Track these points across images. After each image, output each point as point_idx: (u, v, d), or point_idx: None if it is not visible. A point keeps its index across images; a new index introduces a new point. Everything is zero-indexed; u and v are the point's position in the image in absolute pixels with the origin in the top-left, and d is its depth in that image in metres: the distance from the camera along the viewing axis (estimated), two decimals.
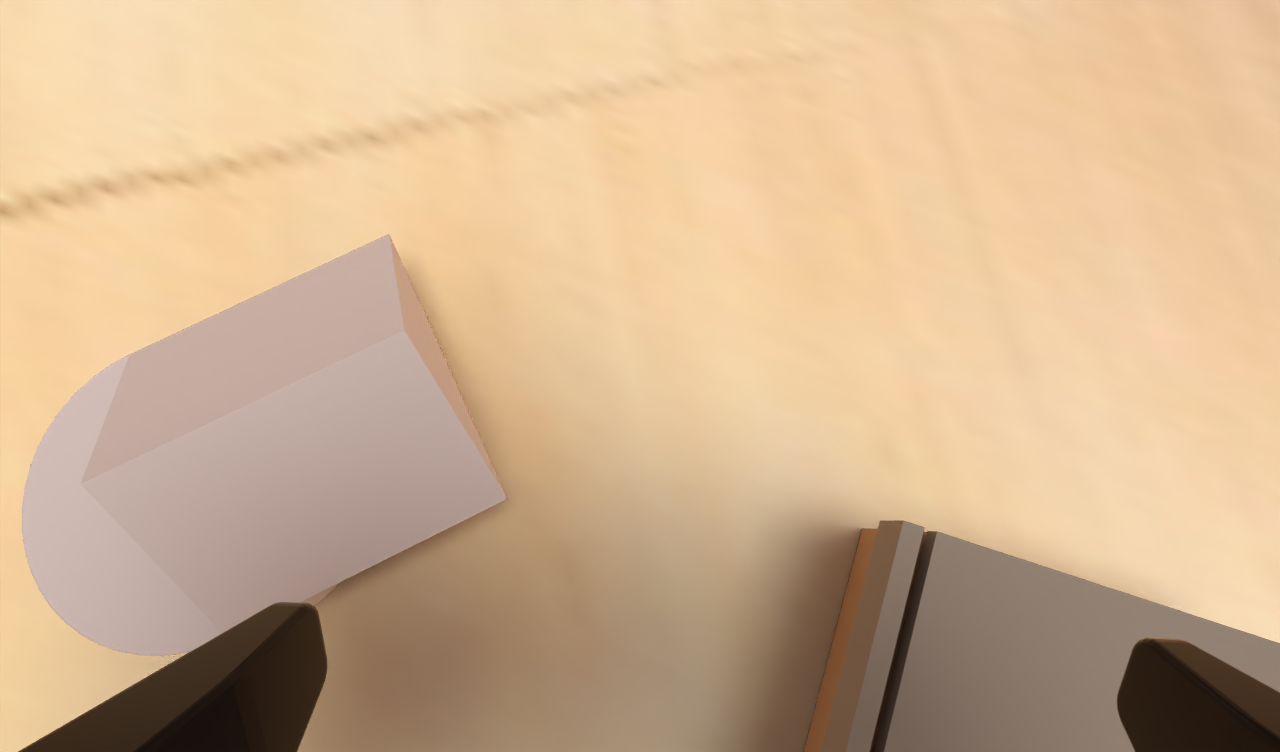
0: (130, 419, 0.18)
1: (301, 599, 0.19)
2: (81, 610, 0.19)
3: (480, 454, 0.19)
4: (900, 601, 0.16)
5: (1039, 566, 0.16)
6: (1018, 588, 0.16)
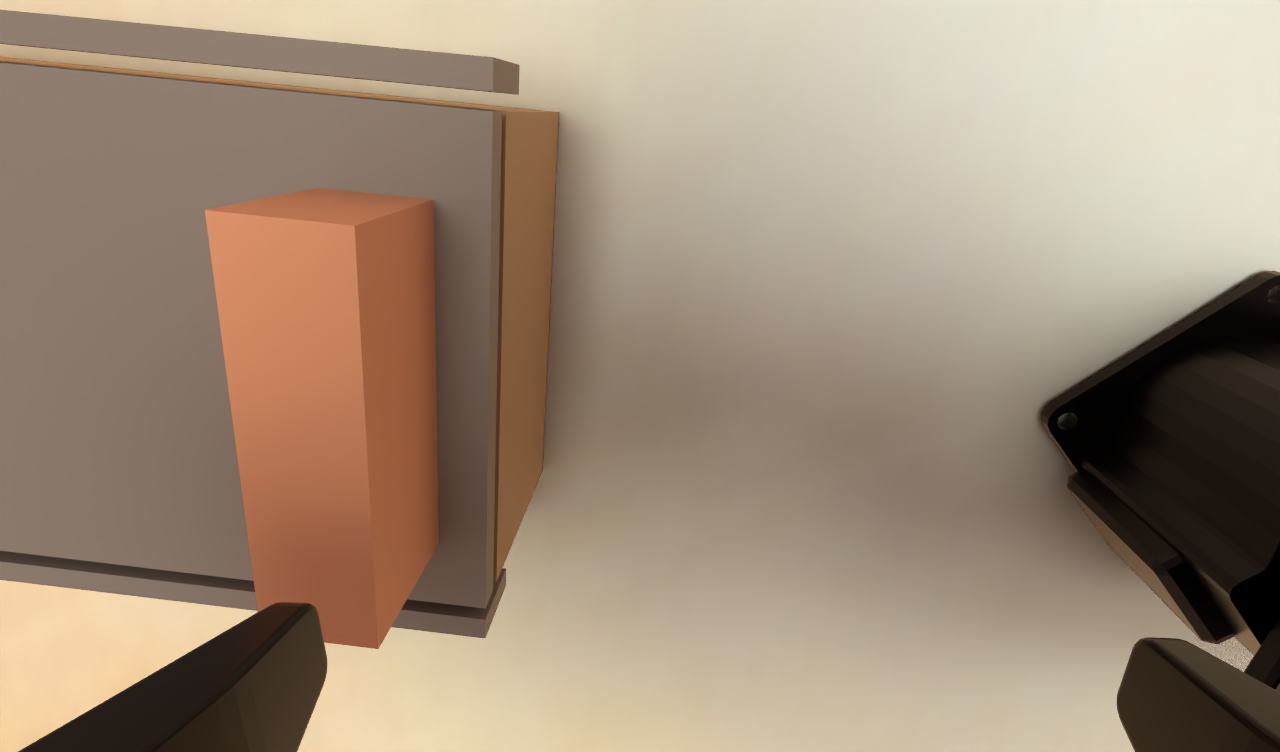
0: None
1: None
2: None
3: None
4: None
5: None
6: None
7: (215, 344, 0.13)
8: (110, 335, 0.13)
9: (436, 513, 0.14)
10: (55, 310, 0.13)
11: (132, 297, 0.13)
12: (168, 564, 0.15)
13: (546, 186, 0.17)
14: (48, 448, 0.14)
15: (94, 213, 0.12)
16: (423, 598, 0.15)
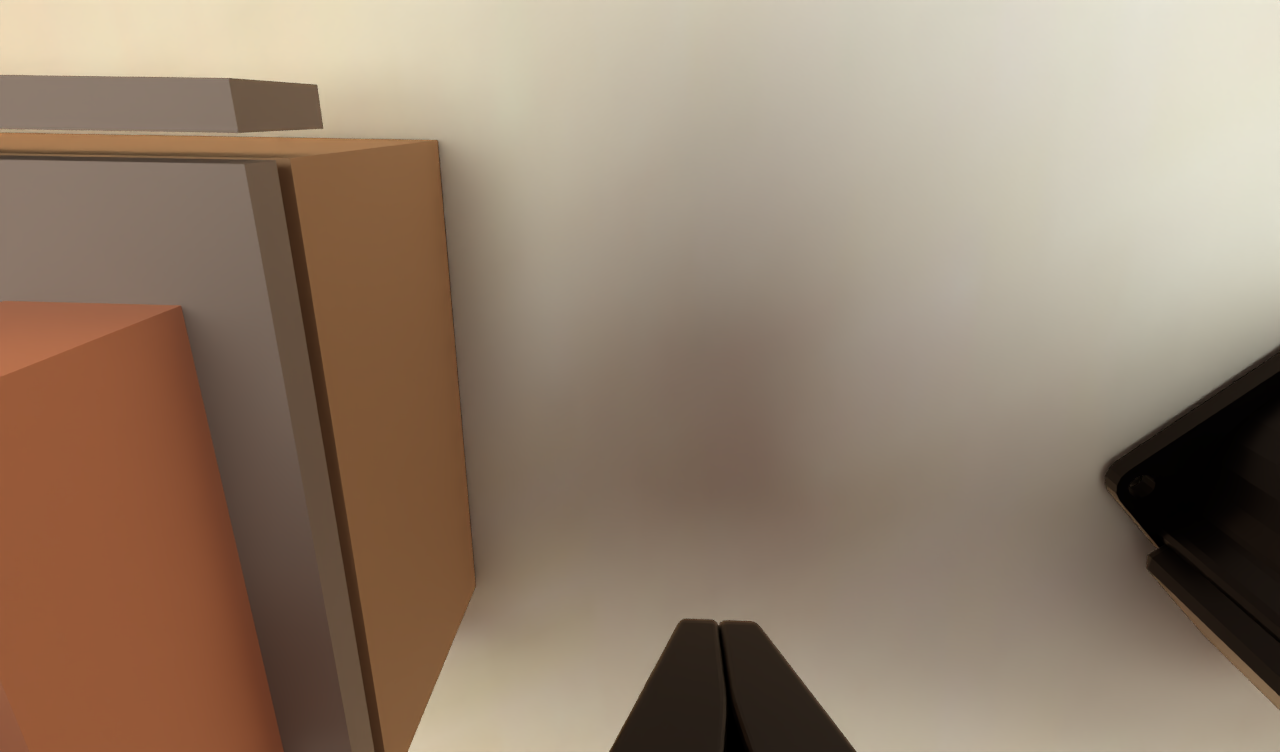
0: None
1: None
2: None
3: None
4: None
5: None
6: None
7: None
8: None
9: (274, 736, 0.10)
10: None
11: None
12: None
13: (423, 241, 0.12)
14: None
15: None
16: None
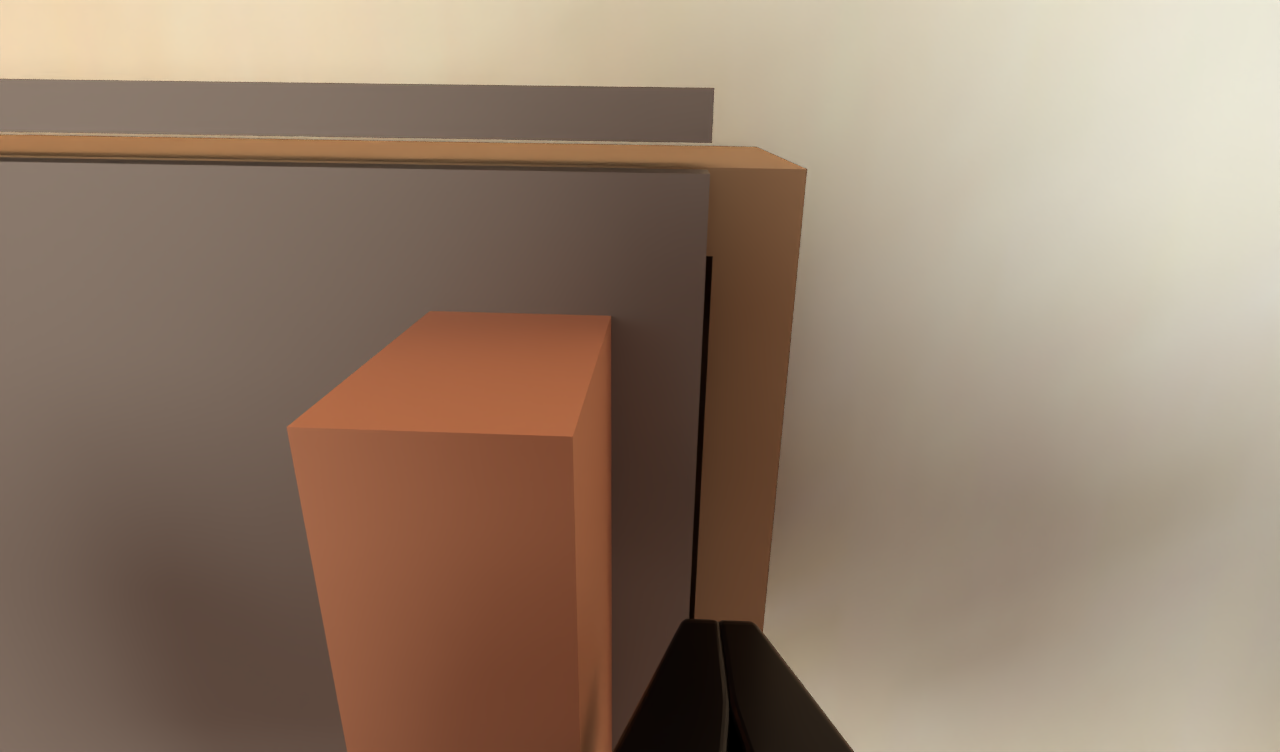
0: None
1: None
2: None
3: None
4: None
5: None
6: None
7: (280, 542, 0.09)
8: (125, 539, 0.09)
9: (611, 746, 0.10)
10: (42, 510, 0.09)
11: (154, 486, 0.09)
12: None
13: None
14: (51, 690, 0.10)
15: (87, 372, 0.08)
16: None
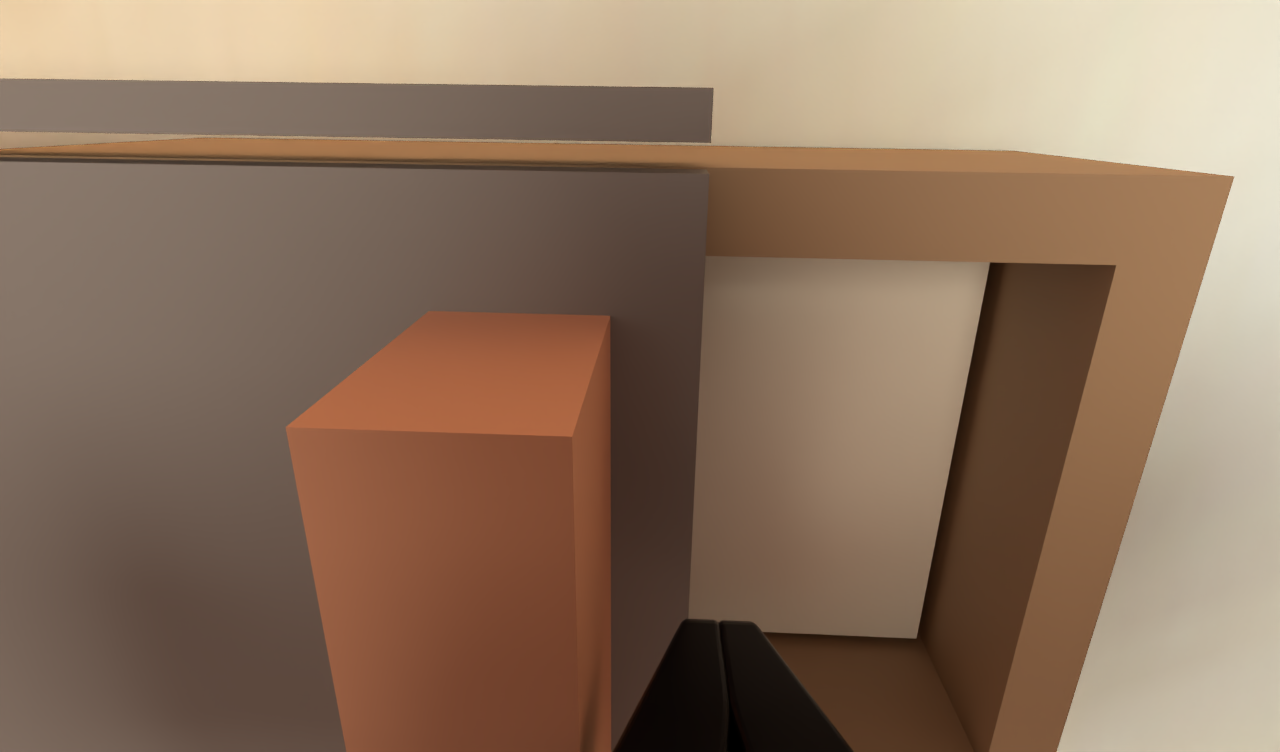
0: None
1: None
2: None
3: None
4: None
5: None
6: None
7: (279, 542, 0.09)
8: (124, 539, 0.09)
9: (610, 746, 0.10)
10: (41, 511, 0.09)
11: (152, 486, 0.09)
12: None
13: None
14: (49, 690, 0.10)
15: (86, 373, 0.08)
16: None
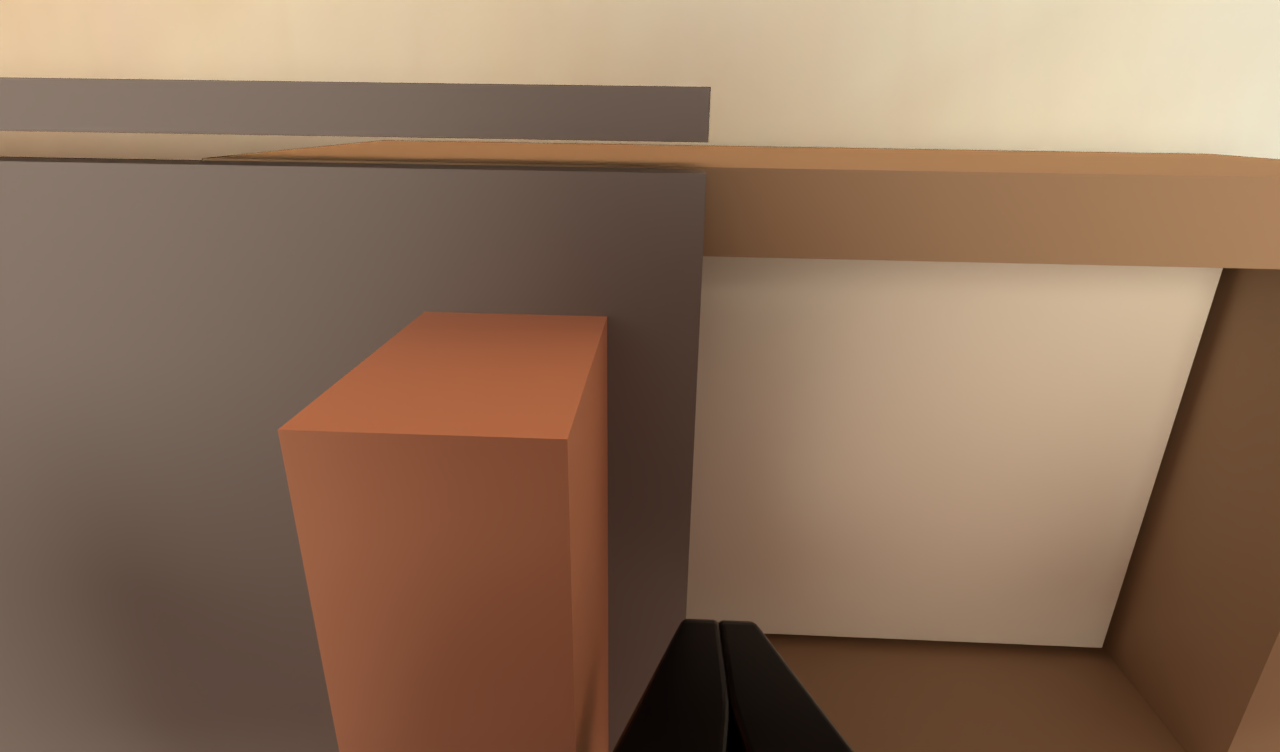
0: None
1: None
2: None
3: None
4: None
5: None
6: None
7: (274, 545, 0.09)
8: (118, 542, 0.09)
9: (607, 749, 0.10)
10: (34, 513, 0.09)
11: (146, 488, 0.09)
12: None
13: None
14: (43, 693, 0.10)
15: (78, 374, 0.08)
16: None
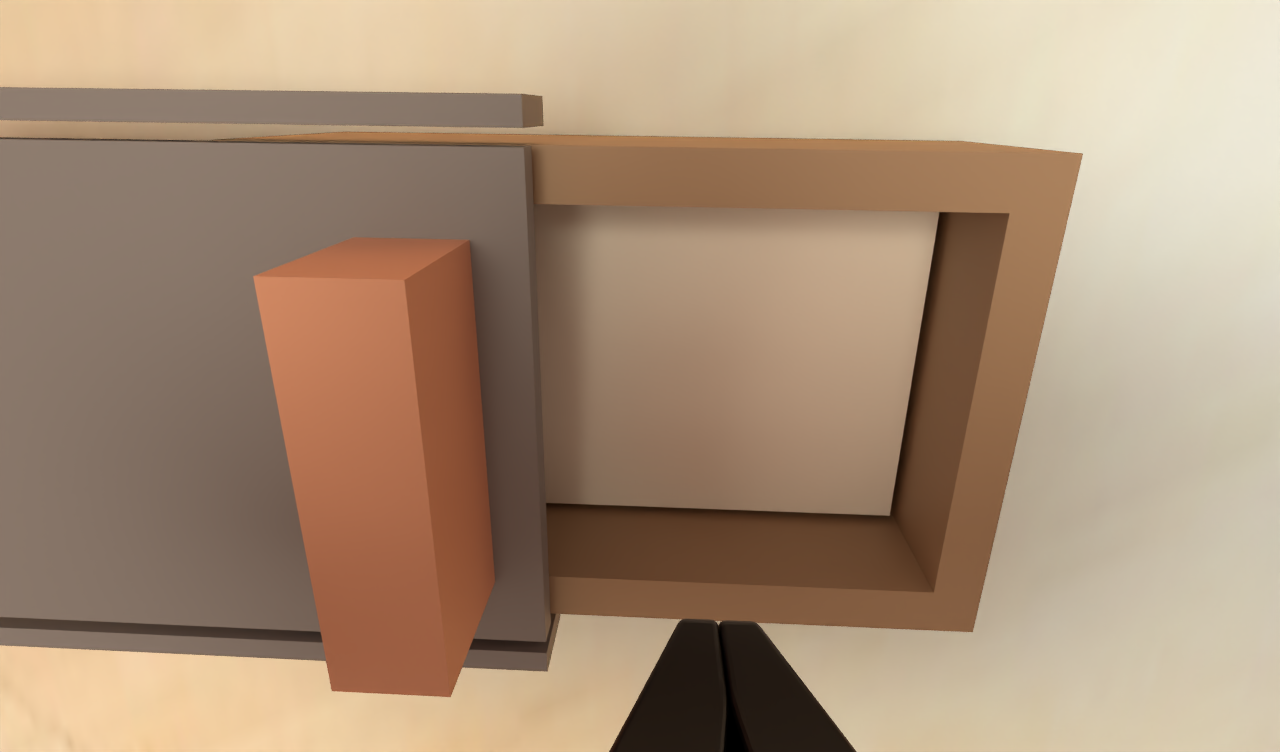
0: None
1: None
2: None
3: None
4: None
5: None
6: None
7: (259, 400, 0.13)
8: (155, 399, 0.13)
9: (491, 551, 0.14)
10: (99, 379, 0.13)
11: (174, 360, 0.13)
12: (226, 621, 0.15)
13: None
14: (100, 515, 0.14)
15: (131, 280, 0.12)
16: (483, 636, 0.15)
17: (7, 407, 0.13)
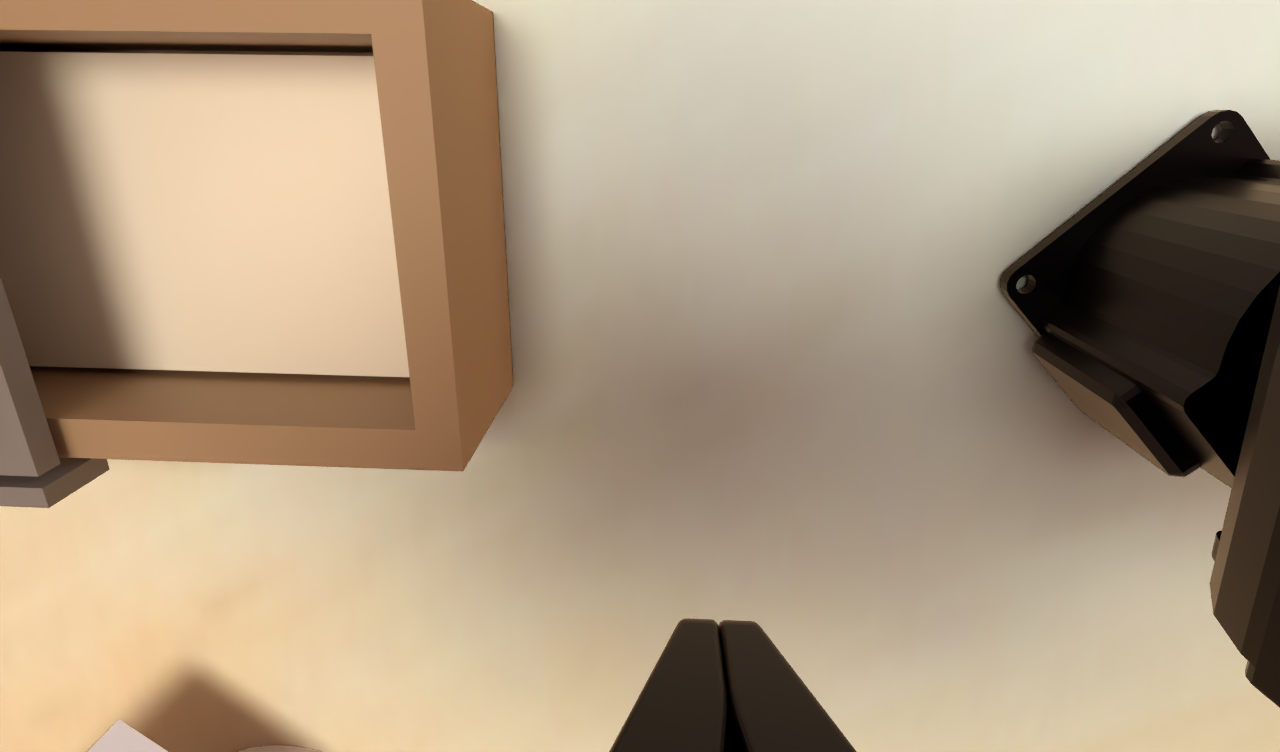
0: None
1: None
2: None
3: None
4: None
5: None
6: None
7: None
8: None
9: None
10: None
11: None
12: None
13: (484, 82, 0.17)
14: None
15: None
16: None
17: None
